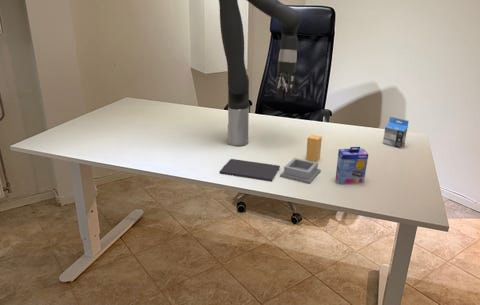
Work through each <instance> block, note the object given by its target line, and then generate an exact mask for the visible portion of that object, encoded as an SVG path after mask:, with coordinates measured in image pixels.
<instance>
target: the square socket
mask: <svg viewBox="0 0 480 305" xmlns="http://www.w3.org/2000/svg"><path fill="white" fill-rule="evenodd" d="M318 166H319V162H313V161H308V160H306V159H302V158H297V157H294V158H292V159H291V160H290V161H289V162H288V163H287V164H285V166H284V167H283V171H282V172H281V173H280V174H279V177H280V178H283V179H287V180H291V181H296V182H298V183H299V182H300V183H304V184H308V185H310V184H311V183H312V182H313V181H314V180H315V179H316V178H317V177H318V176H319V174H320V173H321V171H322V169H320V168H318Z"/></svg>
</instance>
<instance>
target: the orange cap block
mask: <svg viewBox="0 0 480 305" xmlns="http://www.w3.org/2000/svg"><path fill="white" fill-rule="evenodd" d="M322 138H323V136H322V135H316V134H312V133H311V134H310V135H309V136H308V137H307V142H306V154H305V160H307V161H311V162H316V163H318V161H320V159H321V149H322V141H323V140H322Z"/></svg>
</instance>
